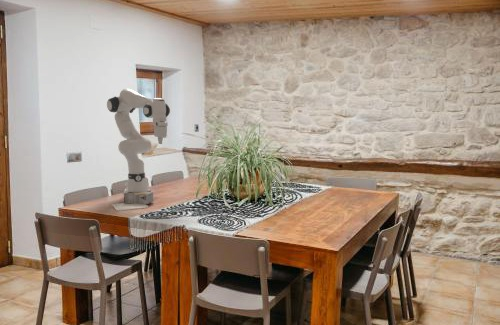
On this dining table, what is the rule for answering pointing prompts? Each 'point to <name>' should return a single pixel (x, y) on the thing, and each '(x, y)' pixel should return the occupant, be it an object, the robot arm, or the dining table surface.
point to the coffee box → (138, 197)
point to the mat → (128, 206)
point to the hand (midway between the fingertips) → (160, 144)
